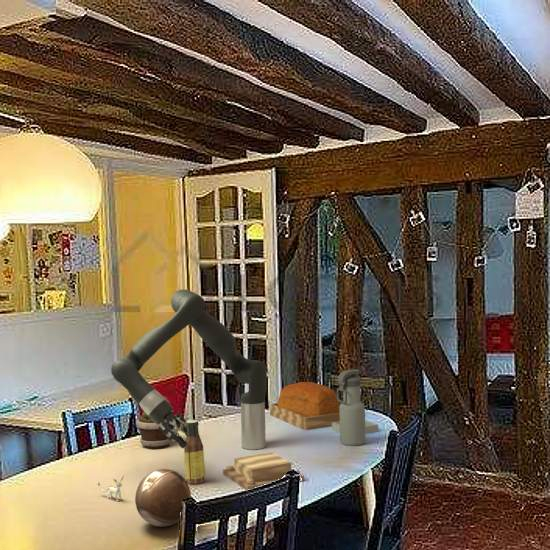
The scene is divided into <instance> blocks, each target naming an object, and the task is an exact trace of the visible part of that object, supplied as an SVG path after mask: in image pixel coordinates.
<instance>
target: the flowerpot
mask: <svg viewBox="0 0 550 550" xmlns="http://www.w3.org/2000/svg"><path fill="white" fill-rule="evenodd" d="M162 396H163V397H164V398H165V399H166V401H167V402H168V403H169V404H170V405H171V400H168V397H167V396H165V395H162ZM135 425H136V428H139V433H140V439H139V443H141V445H142V446H143V447H144V449H145V448H146V449H151V450H155V449H164V448H166V447H168V446H169V445H170V443H171V442H172V440H171V441H170V440H169V439H168V438H167V437H166V436H165V435H164V434H163V433H162V431H161V430H160V429H159V428H158V427H159V426H160V425H161V424H159V425H157V424H156V423H155V422H154V421H153V420H152V419H151V418H150V417H149V416H148V415H147V414H146V413H145V411H144V410H143V413H142V415H141V416H138V419H136V423H135ZM169 436H170V435H169Z"/></svg>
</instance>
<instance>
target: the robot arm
mask: <svg viewBox="0 0 550 550" xmlns="http://www.w3.org/2000/svg"><path fill="white" fill-rule="evenodd" d="M170 304H171V308H172V310H173V311H174V313H175V314H173V315H172V317H170V318H169V319H167V320H166V321H165V322H162V324H160V325H158V326H155V327H154V328H152V329H149V331H147V332H146V333H144V335H142V336H141V337H140V338H139V339H138V340H137V341H136V342H135V343H134V345H132V346H131V348H130V350H129V352H128V354H127V355H125V357H123V358H119V359H116V360H115V361H114V362H113V363H112V365H111V368H110V372H111V375H112V377H113V379H114V380H115V381H116V382H118V383H119V384H120V385H121V386H122V387H124V388H125V389H126V391H128V393H129V395H130V396H131V397H132V399H133V400H134V401H135V402H136V404H138V405H139V406H140V408H141V409H142V411H143V412H144V411H145V412H144V413H146V414H147V415H148V416H149V417H150V418H151V419H152V420H153V421H154V422H155V423H156V424H157V425H159V424H161V425H160V426H159V427H158V428H159V429H160V430H161V431H162V433H163V434H164V435H165V436H166V437H167V438H168V439H169V440H170V441H171V442H172V441H174V442H175V443H177V445H179V447H180V448H182V449H184V448H185V446H186V445H187V442H186V441H185V440H186V439H184V438H183V437H182V436H181V435H180V433H179V432H181V433H183V434H184V435H185V436H186V437H187V426H186V421H187V419H185V418H184V417H183V415H182V414H181V413H179V412H177V413H176V414H174V410H175V408H174V407H173V406H172V405H171V404H170V402H169V403H168V402H167V401H168V400H167V401H166V399H165V398H164V397H165V396H164V395H162V394H161V393H160V392H159V391H157V389H156V388H155V387H153V385H152V384H150V382H149V381H148V380H146V379H145V378H144V377H143V376H142V374H141V373H140V370H141V369H142V368H143V366H144V365H145V364H146V363H147V362H148V361H149V360H150V359H151V358H152V357H153V356H154V355H155V354H156V353H157V352H159V350H160V349H161V348H162V347H163V346H164V345H165V344H167V342H169V340H171V339H172V338H173V337H175V336H176V335H177V334H178V333H180V332H181V331H183V330H184V329H185V328H187V327H188V326H191V327H192V328H193V330H194V331H195V332H196V334H198V336H199V337H200V338H201V339H202V340H203V342H204V343H205V344H206V345H207V346H208V347H209V348H210V349H211V350H212V351H213V352H214V353H215V354H216V355H217V356H218V358H220V360H221V361H223V363H224V364H225V365H226V366H227V367H228V369H229V370H230V371H231V373H232V374H233V376H234V377H235V379H237V380H238V382H240V383H243V384H246V385H247V384H248V386H249V388H248V391H247V392H244V393H242V394H241V395H240V425H241V426H240V428H241V431H240V433H241V435H240V436H241V437H240V439H241V448H242V449H246V450H261V449H264V448H265V447H267V446H266V445H267V444H266V441H267V440H266V435H267V434H266V406H265V405H266V401H265V399H266V395H267V386H268V385H267V383H268V382H267V381H268V372H267V366H266V364H265V363H264V361H262V360H257V359H249V358H247V357H245V356H243V355H242V354H241V353H240V351H239V350H238V349H237V348H238V346H237V340H236V338H235V336H234V335H233V334H232V332H231V331H230V330H229V329H228V328H227V327H226V326H225V325H224V324H223V323H221V322H220V321H219V319H217V318H215V317H214V316H212V315H211V314H209V313H208V312H207V311H206V310H205V309H206V302H205V299H204V298H203V296H201V295H199V293H196V292H193V291H191V290H189V289H179V290H176V291H175V292H174V293H173V294H172V296H171V299H170ZM163 396H164V397H163ZM169 435H170V436H169Z"/></svg>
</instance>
